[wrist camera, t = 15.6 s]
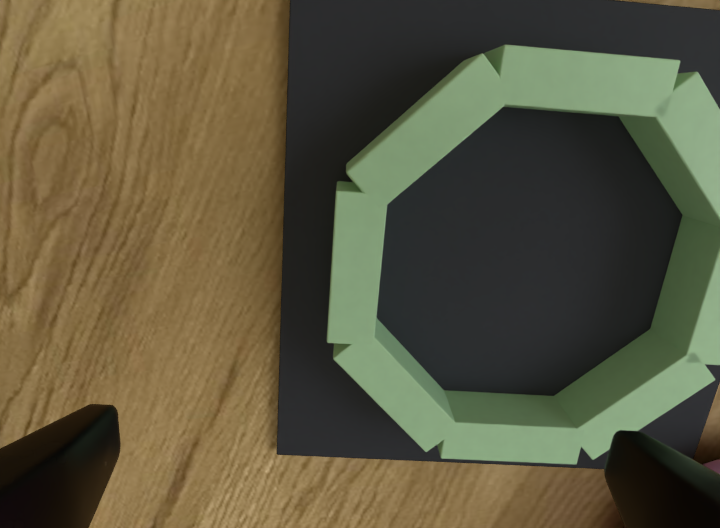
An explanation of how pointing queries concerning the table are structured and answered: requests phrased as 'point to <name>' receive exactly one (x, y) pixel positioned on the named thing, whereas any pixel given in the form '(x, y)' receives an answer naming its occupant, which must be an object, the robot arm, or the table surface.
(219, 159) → the table surface
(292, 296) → the mat
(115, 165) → the table surface
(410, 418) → the ring
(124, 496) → the table surface
